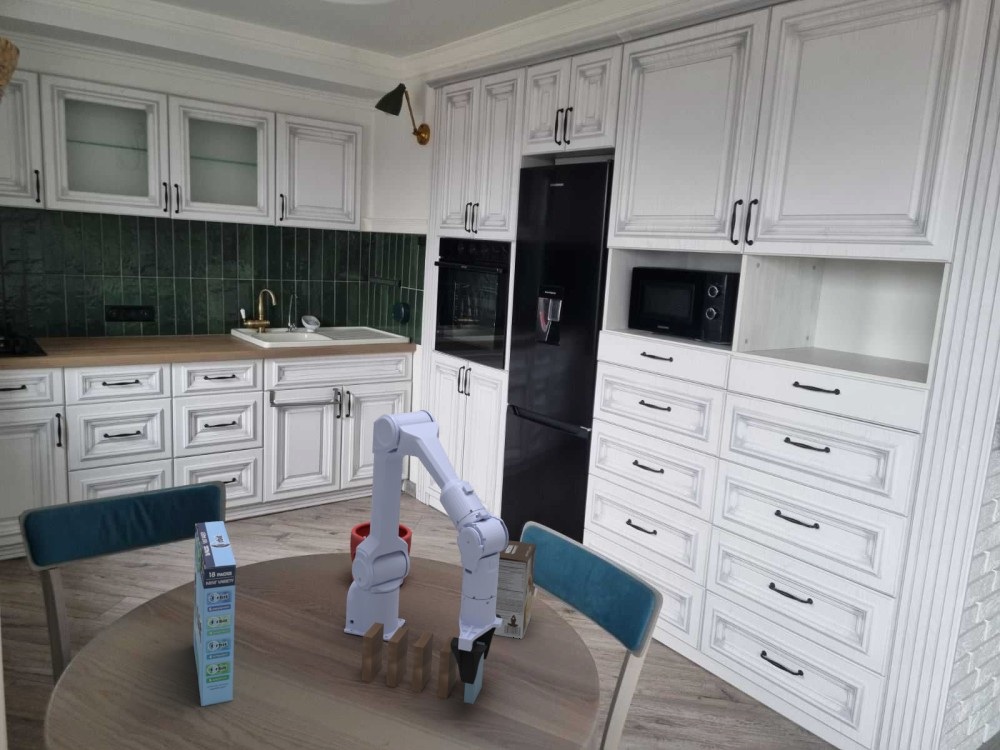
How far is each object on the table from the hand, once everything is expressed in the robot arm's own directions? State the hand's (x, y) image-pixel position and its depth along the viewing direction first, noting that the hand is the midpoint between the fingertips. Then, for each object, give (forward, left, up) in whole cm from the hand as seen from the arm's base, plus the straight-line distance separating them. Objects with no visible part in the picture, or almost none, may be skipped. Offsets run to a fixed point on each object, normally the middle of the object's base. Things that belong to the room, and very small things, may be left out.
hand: (474, 669), depth 118 cm
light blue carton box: (-43, -9, -5) cm, 44 cm away
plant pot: (-31, +33, -5) cm, 46 cm away
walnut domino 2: (-13, 0, -4) cm, 14 cm away
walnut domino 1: (-18, 0, -4) cm, 18 cm away
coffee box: (+1, +24, -5) cm, 25 cm away
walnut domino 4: (-4, 0, -4) cm, 6 cm away
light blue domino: (0, 0, -4) cm, 4 cm away
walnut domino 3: (-9, 0, -4) cm, 10 cm away
